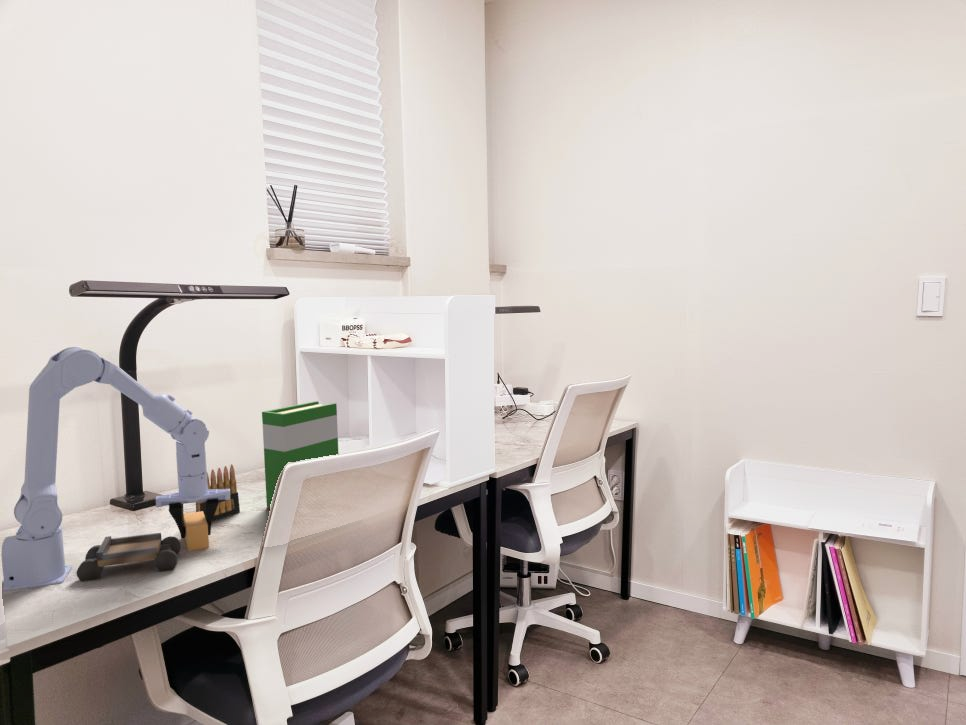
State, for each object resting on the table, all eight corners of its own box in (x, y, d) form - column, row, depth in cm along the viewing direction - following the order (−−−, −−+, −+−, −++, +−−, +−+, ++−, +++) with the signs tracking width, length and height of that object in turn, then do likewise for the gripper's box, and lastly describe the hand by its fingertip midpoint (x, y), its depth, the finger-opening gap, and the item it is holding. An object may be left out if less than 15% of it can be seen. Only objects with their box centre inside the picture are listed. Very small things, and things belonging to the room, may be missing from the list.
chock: (188, 551, 145) (186, 527, 144) (184, 536, 154) (183, 514, 153) (209, 547, 147) (207, 524, 146) (204, 533, 155) (202, 511, 155)
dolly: (77, 584, 129) (75, 555, 129) (87, 566, 138) (85, 539, 137) (177, 570, 135) (175, 543, 134) (181, 554, 143) (179, 528, 143)
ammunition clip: (235, 511, 170) (232, 462, 169) (240, 512, 169) (237, 463, 168) (196, 524, 162) (192, 473, 160) (201, 525, 161) (197, 474, 159)
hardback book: (319, 489, 187) (316, 401, 184) (340, 494, 183) (336, 403, 180) (266, 508, 172) (261, 411, 170) (287, 512, 168) (282, 414, 166)
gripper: (152, 481, 142) (156, 546, 144) (228, 474, 147) (231, 537, 148) (156, 473, 149) (160, 534, 150) (228, 466, 154) (232, 526, 155)
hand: (196, 535), depth 150 cm, fingers closed on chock, 4 cm apart
